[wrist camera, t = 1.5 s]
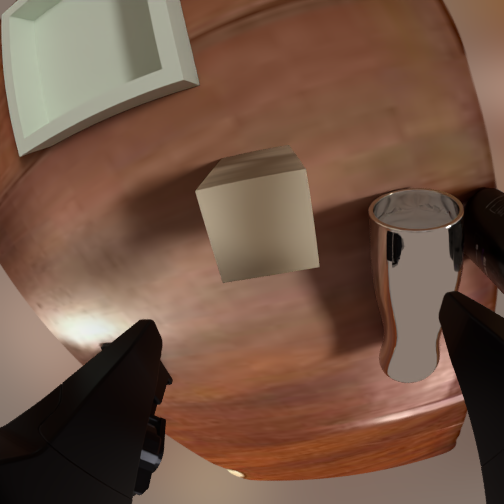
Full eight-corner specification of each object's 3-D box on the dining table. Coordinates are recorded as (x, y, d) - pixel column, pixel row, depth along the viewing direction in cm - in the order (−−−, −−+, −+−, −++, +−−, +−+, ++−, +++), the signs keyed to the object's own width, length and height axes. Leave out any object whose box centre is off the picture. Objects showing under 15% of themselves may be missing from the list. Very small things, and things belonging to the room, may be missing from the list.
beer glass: (455, 368, 19) (488, 213, 13) (389, 399, 20) (396, 245, 13) (424, 321, 26) (428, 180, 19) (364, 344, 26) (349, 201, 19)
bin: (51, 145, 18) (19, 157, 14) (31, 19, 12) (1, 15, 9) (199, 85, 16) (183, 79, 13) (167, -55, 10) (149, -78, 7)
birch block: (237, 219, 21) (222, 282, 14) (221, 158, 19) (195, 191, 12) (300, 208, 20) (319, 266, 13) (288, 144, 18) (305, 168, 11)
